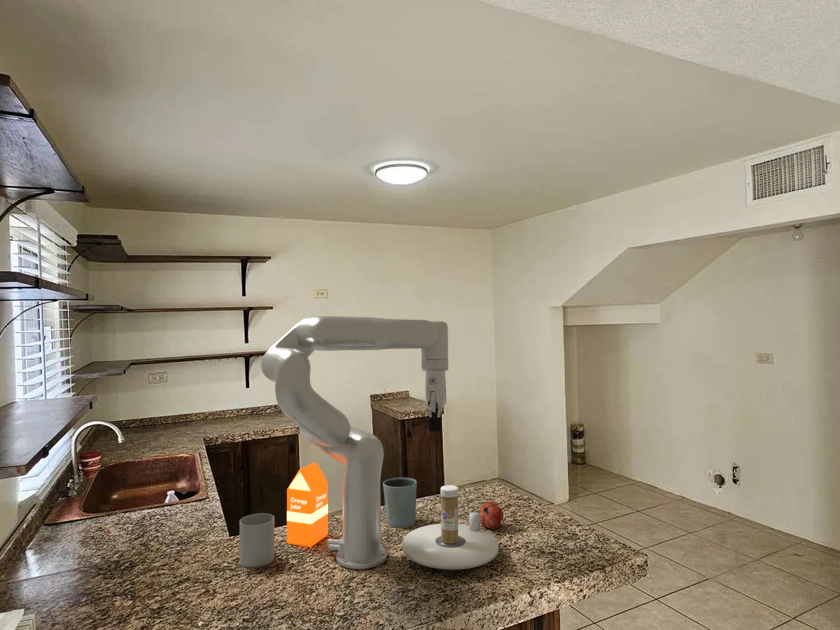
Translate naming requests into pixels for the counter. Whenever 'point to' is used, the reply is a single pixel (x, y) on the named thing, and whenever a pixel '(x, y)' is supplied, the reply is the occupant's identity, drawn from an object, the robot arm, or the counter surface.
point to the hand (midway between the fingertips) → (435, 430)
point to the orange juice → (307, 507)
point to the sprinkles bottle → (449, 514)
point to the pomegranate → (491, 515)
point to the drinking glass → (400, 502)
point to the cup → (256, 540)
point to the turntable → (451, 546)
